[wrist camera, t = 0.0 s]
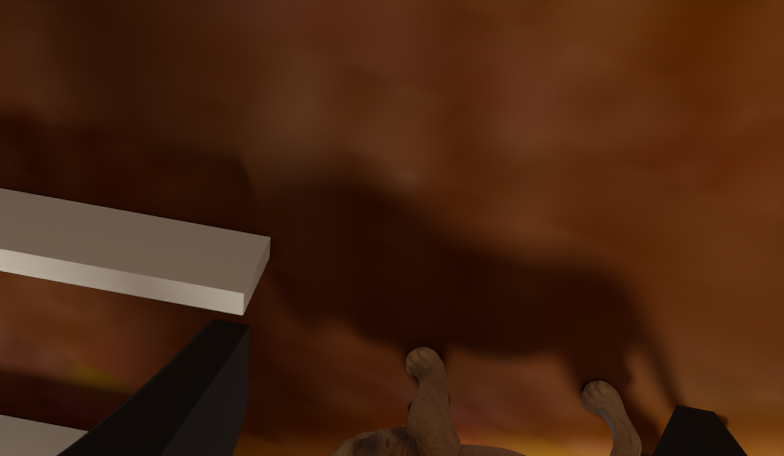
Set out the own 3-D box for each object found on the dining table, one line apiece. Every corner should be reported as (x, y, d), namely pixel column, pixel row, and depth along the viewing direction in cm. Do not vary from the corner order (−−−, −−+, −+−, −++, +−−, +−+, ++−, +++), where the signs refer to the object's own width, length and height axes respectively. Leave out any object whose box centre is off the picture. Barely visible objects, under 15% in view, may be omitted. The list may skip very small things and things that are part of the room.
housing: (256, 476, 30) (234, 542, 27) (-148, 399, 30) (-208, 457, 27) (270, 237, 23) (243, 293, 21) (-239, 144, 24) (-327, 188, 21)
